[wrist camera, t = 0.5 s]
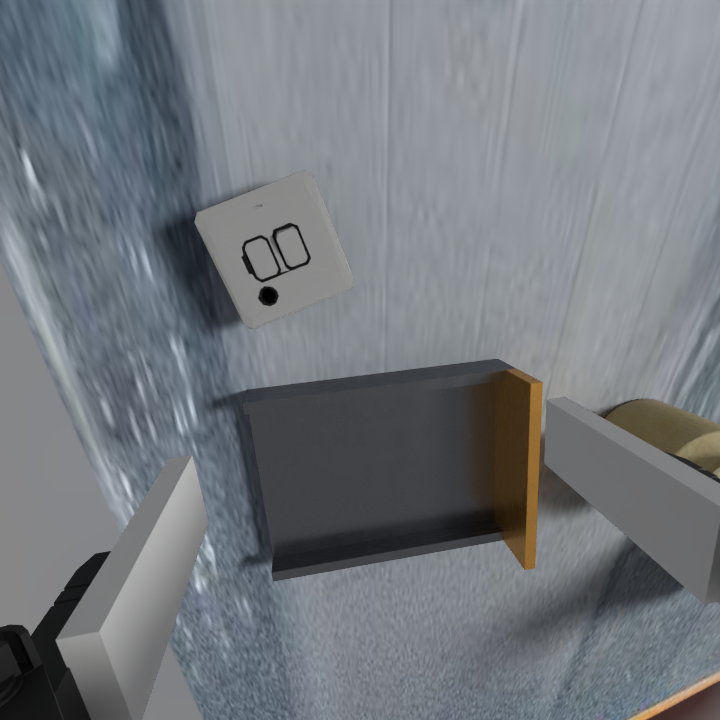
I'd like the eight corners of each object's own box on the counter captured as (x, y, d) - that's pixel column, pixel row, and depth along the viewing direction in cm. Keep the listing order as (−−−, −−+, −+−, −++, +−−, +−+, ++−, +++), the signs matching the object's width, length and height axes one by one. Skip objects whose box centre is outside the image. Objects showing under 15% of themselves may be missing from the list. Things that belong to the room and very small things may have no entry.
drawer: (247, 389, 36) (234, 423, 29) (497, 358, 39) (542, 382, 32) (275, 554, 41) (269, 618, 34) (496, 516, 44) (535, 568, 36)
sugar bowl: (557, 508, 45) (679, 628, 30) (550, 419, 42) (683, 507, 27) (677, 474, 46) (849, 575, 31) (679, 386, 43) (871, 452, 28)
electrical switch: (248, 335, 31) (185, 217, 27) (250, 315, 36) (197, 211, 31) (358, 290, 31) (314, 166, 27) (346, 275, 36) (307, 168, 32)
